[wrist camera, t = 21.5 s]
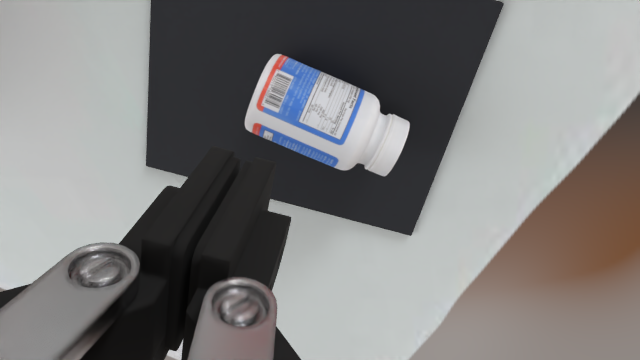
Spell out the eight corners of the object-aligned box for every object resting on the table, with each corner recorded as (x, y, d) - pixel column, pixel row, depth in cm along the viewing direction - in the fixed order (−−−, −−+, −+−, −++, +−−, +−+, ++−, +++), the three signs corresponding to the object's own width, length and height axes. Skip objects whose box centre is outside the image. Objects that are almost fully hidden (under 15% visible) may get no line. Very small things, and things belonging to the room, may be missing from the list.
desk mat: (148, 163, 38) (145, 166, 37) (156, -87, 29) (153, -87, 28) (411, 233, 37) (411, 236, 37) (502, 2, 28) (504, 3, 28)
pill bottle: (261, 100, 34) (382, 154, 34) (235, 144, 30) (372, 204, 30) (283, 35, 30) (418, 97, 31) (256, 76, 26) (412, 145, 27)
